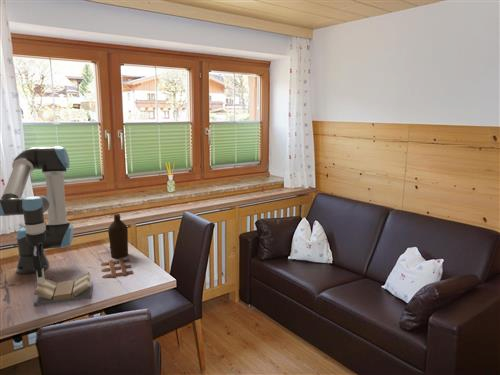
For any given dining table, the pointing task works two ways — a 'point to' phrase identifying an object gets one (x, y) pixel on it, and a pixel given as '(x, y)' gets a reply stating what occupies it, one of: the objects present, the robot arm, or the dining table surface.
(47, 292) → the plank
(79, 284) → the plank
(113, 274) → the decorative fence
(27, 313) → the dining table surface
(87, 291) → the floor board
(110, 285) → the dining table surface
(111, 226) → the olive oil
